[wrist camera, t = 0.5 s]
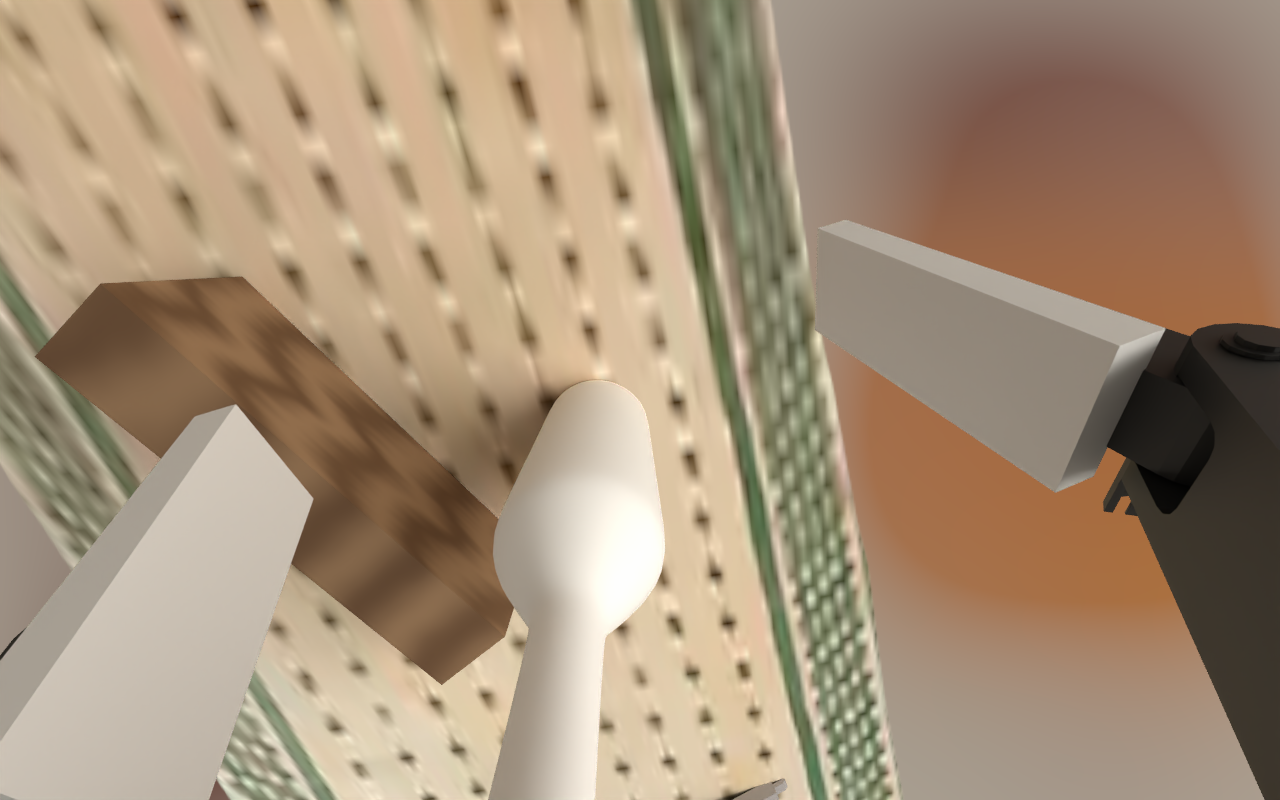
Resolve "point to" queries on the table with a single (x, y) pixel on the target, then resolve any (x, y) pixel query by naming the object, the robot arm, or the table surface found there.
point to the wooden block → (301, 454)
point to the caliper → (764, 791)
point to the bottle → (574, 580)
